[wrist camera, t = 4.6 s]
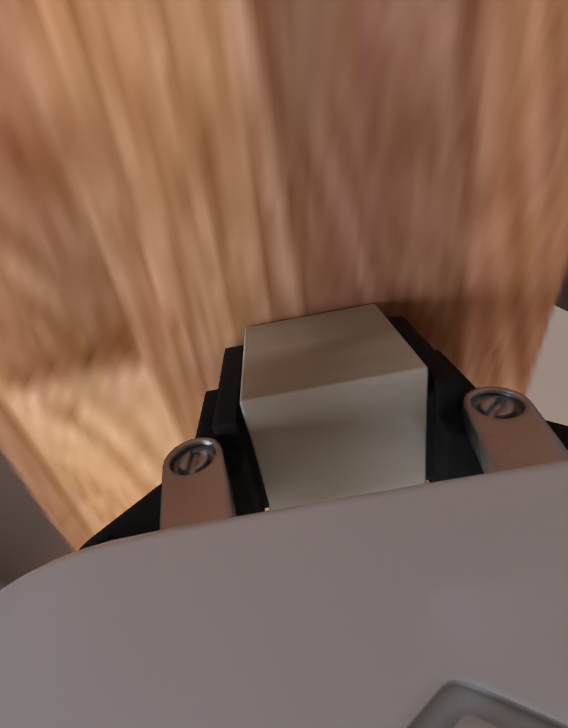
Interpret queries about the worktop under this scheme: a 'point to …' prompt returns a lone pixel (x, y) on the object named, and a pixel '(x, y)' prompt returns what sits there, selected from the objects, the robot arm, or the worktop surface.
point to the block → (334, 406)
